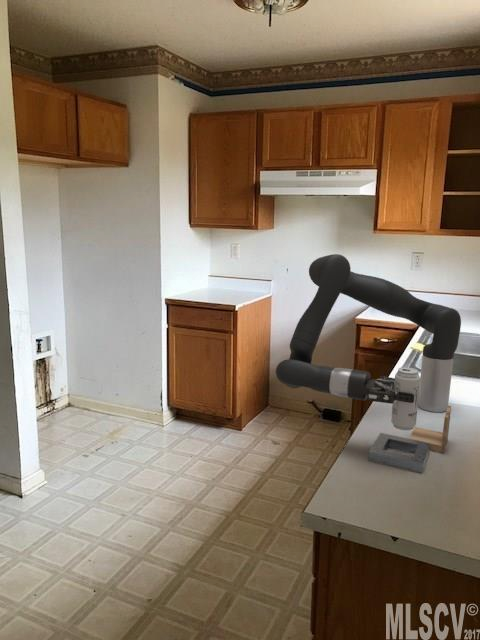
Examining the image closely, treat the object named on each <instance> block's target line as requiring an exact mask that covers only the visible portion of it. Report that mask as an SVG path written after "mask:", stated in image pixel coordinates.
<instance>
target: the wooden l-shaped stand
mask: <svg viewBox="0 0 480 640" xmlns="http://www.w3.org/2000/svg"><path fill="white" fill-rule="evenodd" d="M451 413H452V406H451V405H448V408H447V411H445V415H444V420H443V427H442V428H443V430H442V432H441V431H436V430H431V429H427V428H421V427H416V426H414V427H413V429H412V432H411V434H410V437H409V438H408V439H413V440H418V441H423V442H428V443H430V451H431V452H435V453H436V452H437V453H440V454H445V451H446V447H447V445H448V440H449V432H450V431H449V430H450V421H451V415H452V414H451ZM430 451H429V452H430Z"/></svg>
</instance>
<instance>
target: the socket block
mask: <svg viewBox="0 0 480 640" xmlns="http://www.w3.org/2000/svg"><path fill="white" fill-rule="evenodd" d="M388 448H389V449H394V450H398V449H399V450H398V451H402V450H404V451H403V452H407V451H408V453H412V454H413V456H412V455H407V454H402V453H398V452H393V451H391V450H390V451H389V450H387V449H388ZM429 454H430V443H428V442H423V441H418V440H413V439H409V438H407V437H402V436H397V435H392V434H389V433H382V432H379V434H378V436H377V437H376V439H375V441H374V442H373V444H372V445H371V448H370V449H369V452H368V462H372V463H376V464H381V465H384V466H389V467H394V468H397V469H403V470H407V471H411V472H414V473H415V472H416V473H419V474H423V472H424V470H425V466H426V463H427V460H428V457H429V456H430V455H429Z"/></svg>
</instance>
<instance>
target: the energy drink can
mask: <svg viewBox="0 0 480 640" xmlns="http://www.w3.org/2000/svg"><path fill="white" fill-rule="evenodd" d="M420 376H421V375H420V374H419V370H418V369H416V368H413V367H408V366H407V367H406V366H402V367H398V369H397V372H396V373H395V374H394V378H395V381H394V390H395V391H398V393H399V392H405V393H411V394H414V395H415V397H414V402H413V403H408V402H402V401H397V402H394V401H393V404H392V408H391V410H392V411H391V419H390V423H392V425H393V427H394V428H396V429H398V430H400V431H413V429H414V427H416V426H417V420H418V419H417V417H418V408H419V406H418V397H419V387H420Z"/></svg>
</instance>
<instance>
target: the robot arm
mask: <svg viewBox="0 0 480 640" xmlns="http://www.w3.org/2000/svg"><path fill="white" fill-rule="evenodd" d="M308 275H309V278H310V280H311V282H313V284H315V286H317V287H318V289H317V291H316V293H315V294H314V295H315V296H314V297H313V299H312V300H311V302H310V304H309V305H308V307H307V308H306V310H305V311H304V312H303V314H301V316H300V318H299V321H297V324H296V327H295V329H294V331H293V334H292V337H291V339H290V343H289V349H290V355H289V358H287V359H283V360H281V361H280V362H279V363H278V365H277V366H276V368H275V376H276V378H277V379H278V381H279V382H280V383H282V384H283V385H284V386H286V387H288V388H290V389H298V388H301V387H303V388H309V389H311V390H313V391H316V392H319V393H320V392H321V393H326V394H330V395H331V394H332V395H335V396H338V397H341V398H346V399H354V400H360V401H366V400H368V401H369V402H376V403H382V404H383V403H384V404H391V405H393V401H394V402H397V401H402V402H408V403H413V402H414V397H415V395H414V394H411V393H405V392H399V393H398V391H395V390H394V382H395V377H389V376H384V375H380V376H379V378H377V379H375V378H372V376H371V372H369V371H364V370H358V369H351V368H345V367H344V368H343V367H333V366H332V367H331V366H327V365H326V366H325V365H316V364H314V363H313V364H312V358H313V354H314V351H315V349H316V347H317V344H318V341H319V338H320V336H321V333H322V330H323V328H324V326H325V324H326V321H327V319H328V317H329V315H330V313H331V312H332V309H333V307H334V306H335V304H336V302H337V299H338V298H339V297H340V294H341V295H345V296H346V297H349V298H351V299H353V300H355V301H356V302H360V303H361V304H363V305H366V306H368V307H370V308H372V309H375V310H376V311H379V312H382V313H384V314H386V315H389V316H393V317H397V318H401V319H405V320H408V321H410V322H412V323H413V324H415V325H417V326H418V327H420V328H422V329H423V330H425V331H427V332H428V333H430V334H433V335H432V340H431V342H430V343H429V344H428V343H427V344H425V345H424V346H423V348H422V356H421V357H422V358H421V368H420V375H419V376H420V387H419V397H418V408H420V409H422V410H424V411H427V412H432V413H443V412H446V411H447V408H448V406H449V403H450V402H449V401H450V392H451V384H452V376H453V375H452V374H453V373H452V372H453V365H454V355H455V352H456V351H457V348H458V345H459V339H460V333H461V328H462V327H461V326H462V318H461V315H460V313H459V311H458V310H456V309H454V308H452V307H448V306H446V305H445V306H444V305H442V304H436V303H433V302H428V301H425V300H423V299H420V298H418V297H416V296H414V295H413V294H412V293H410V292H409V291H408V290H407V289H405V288H404V287H402V286H400V285H398V284H396V283H394V282H392V281H389V280H387V279H384V278H380V277H376V276H372V275H366V274H361V273H357V272H353V271H351V263H350V262H349V260H348V258H346V257H345V256H344V255H343V254H337V253H335V254H330V255H329V254H328V255H324V256H321V257H318V258H316V259H315V260H313V261H312V262H311V264H310V265H309V268H308Z"/></svg>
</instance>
